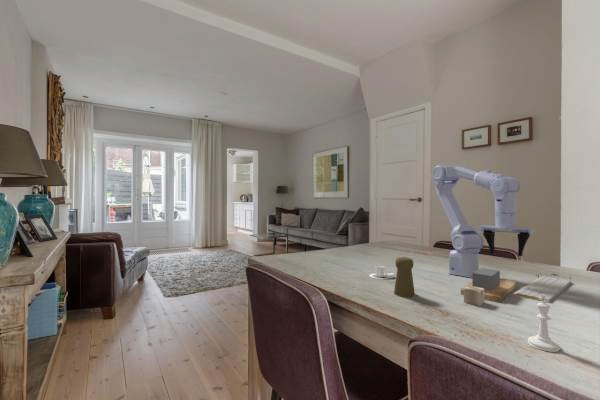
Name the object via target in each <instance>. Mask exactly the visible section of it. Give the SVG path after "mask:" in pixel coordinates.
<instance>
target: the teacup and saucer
mask: <svg viewBox="0 0 600 400" xmlns="http://www.w3.org/2000/svg"><path fill="white" fill-rule="evenodd" d="M372 270H373V273H370V274H369V275H368V276H369V277H370V278H372V279H376V280H389V279H392V278H394V277H396V276H395V275H396V274H395V273H394V272H388V273H385V265H376V266H373V267H372ZM375 275H376V277H375ZM383 277H384V278H383Z"/></svg>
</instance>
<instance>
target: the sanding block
mask: <svg viewBox="0 0 600 400" xmlns="http://www.w3.org/2000/svg"><path fill="white" fill-rule="evenodd" d="M500 272H501V270H498V269H492V268H486V267H481V268H479V270H477V271H475V272H473V278H472V282H471V283H472V286H474V287H479V288H484V292H488V293H493V292H494V291H495V290H496V289H497V288H499V287H500V279H501V278H500V277H501V276H500V275H501V274H500Z"/></svg>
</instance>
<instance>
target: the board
mask: <svg viewBox="0 0 600 400" xmlns="http://www.w3.org/2000/svg"><path fill="white" fill-rule="evenodd" d="M468 285H469V286H472V282H470V283H469V284H467V285H465V286H463V287H462V288H460V294H461V295H463V296H464V288H465V287H467V286H468ZM517 287H518V281H515V280H509V279H503V278H500V287H499V288H497V289H496V290H495V291H494V292H493V293H488V292H484V300H486V301H491V302H495V303H501V302H502V301H503V300H504V299H506V297H507V296H509V294H511V292H513V291H514V290H515V289H516V288H517Z"/></svg>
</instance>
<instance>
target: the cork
mask: <svg viewBox="0 0 600 400" xmlns="http://www.w3.org/2000/svg"><path fill="white" fill-rule="evenodd" d="M394 263H395V267H396V274H395V275H396V276H395V282H394V291H393V294H394V295H395V296H398V297H401V298H412V297H415V296H416V294H415V293H416V292H415V286H414V285H415V283H414V278H413V272H412V270H413V267H414V261H413V259H412V258H410V257H405V256H402V257H400V256H399V257H397V258H396V260H395V262H394Z"/></svg>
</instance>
